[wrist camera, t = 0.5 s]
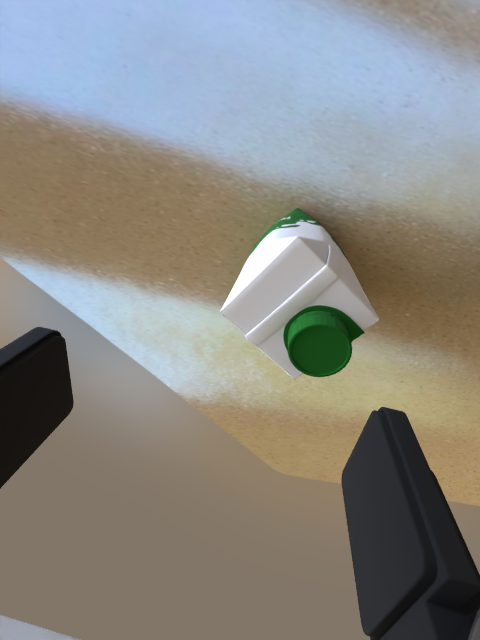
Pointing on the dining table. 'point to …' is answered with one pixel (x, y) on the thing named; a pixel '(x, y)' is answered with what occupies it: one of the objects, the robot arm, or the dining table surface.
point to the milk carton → (300, 299)
